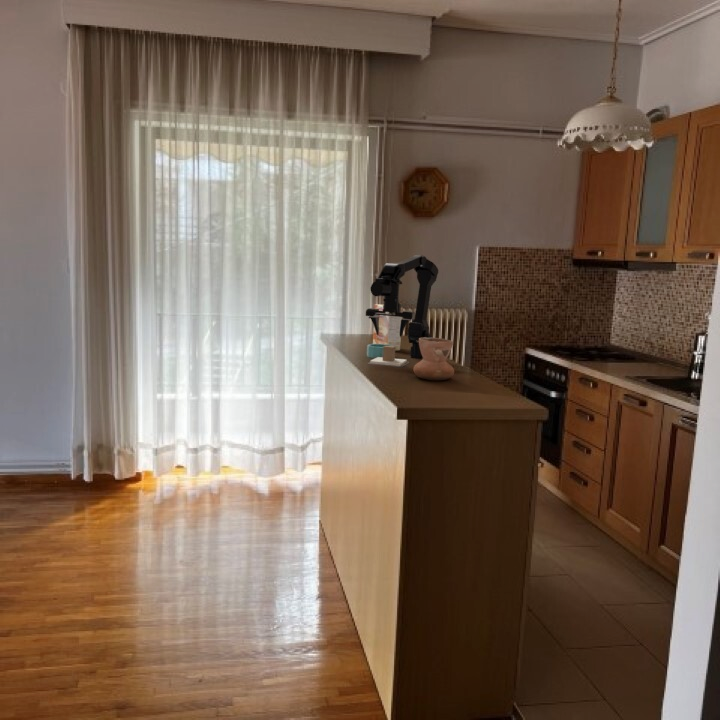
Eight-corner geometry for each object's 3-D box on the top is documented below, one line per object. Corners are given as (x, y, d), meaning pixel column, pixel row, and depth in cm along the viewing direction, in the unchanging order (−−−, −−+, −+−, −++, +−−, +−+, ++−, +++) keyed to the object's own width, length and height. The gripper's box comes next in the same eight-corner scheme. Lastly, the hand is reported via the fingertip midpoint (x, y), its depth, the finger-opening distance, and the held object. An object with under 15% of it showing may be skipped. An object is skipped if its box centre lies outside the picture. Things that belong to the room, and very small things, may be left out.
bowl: (396, 357, 299) (396, 345, 298) (389, 360, 288) (390, 348, 288) (371, 354, 302) (371, 343, 301) (363, 358, 291) (364, 346, 290)
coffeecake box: (372, 346, 330) (374, 304, 327) (385, 345, 333) (387, 304, 330) (386, 350, 317) (389, 307, 314) (400, 350, 320) (403, 307, 317)
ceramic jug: (457, 384, 243) (460, 343, 241) (415, 381, 243) (418, 340, 241) (448, 375, 261) (451, 337, 259) (409, 373, 260) (412, 335, 259)
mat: (409, 362, 285) (409, 362, 285) (401, 367, 271) (401, 366, 271) (375, 359, 288) (376, 358, 288) (366, 364, 275) (366, 363, 275)
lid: (406, 362, 284) (407, 346, 283) (399, 366, 272) (400, 349, 271) (377, 359, 287) (378, 343, 286) (369, 363, 276) (370, 346, 275)
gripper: (419, 296, 281) (416, 335, 284) (373, 293, 286) (371, 331, 289) (413, 297, 271) (410, 338, 273) (366, 294, 276) (364, 334, 278)
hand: (389, 335), depth 279 cm, fingers open, 9 cm apart
